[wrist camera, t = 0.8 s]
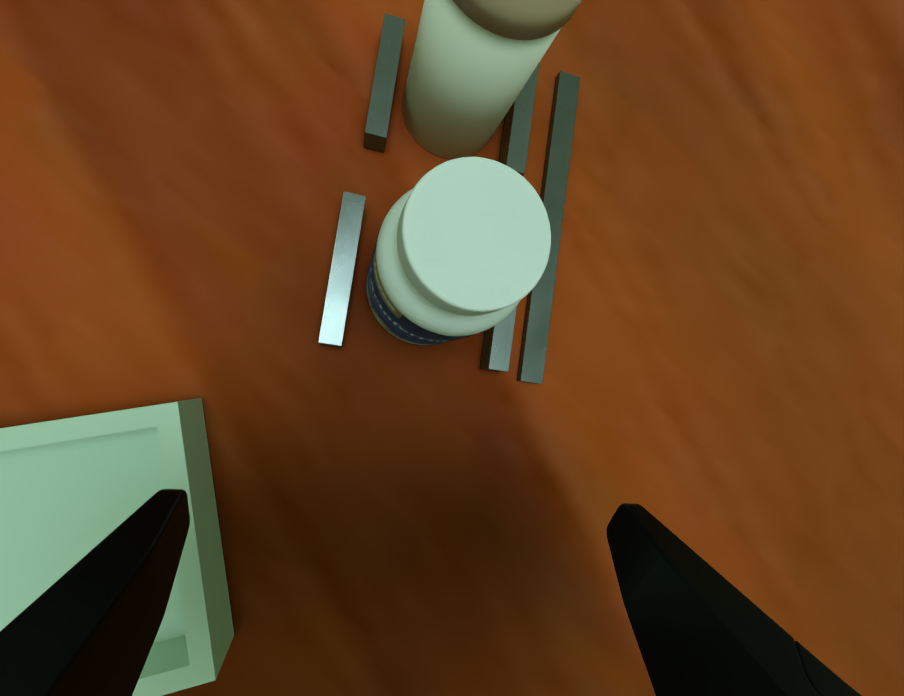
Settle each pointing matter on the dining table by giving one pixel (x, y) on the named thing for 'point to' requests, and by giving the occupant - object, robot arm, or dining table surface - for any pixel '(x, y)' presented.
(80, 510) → the tray
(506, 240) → the pill bottle
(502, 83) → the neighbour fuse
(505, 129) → the set of grey bars
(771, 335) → the dining table surface
